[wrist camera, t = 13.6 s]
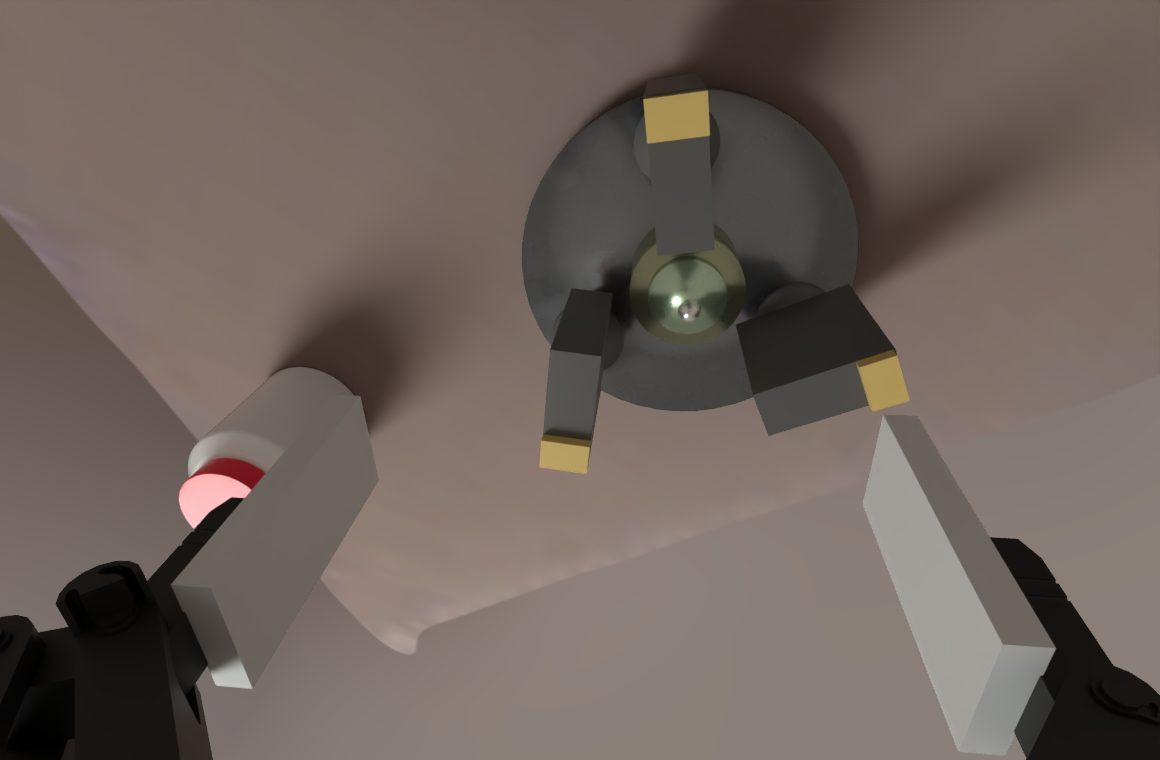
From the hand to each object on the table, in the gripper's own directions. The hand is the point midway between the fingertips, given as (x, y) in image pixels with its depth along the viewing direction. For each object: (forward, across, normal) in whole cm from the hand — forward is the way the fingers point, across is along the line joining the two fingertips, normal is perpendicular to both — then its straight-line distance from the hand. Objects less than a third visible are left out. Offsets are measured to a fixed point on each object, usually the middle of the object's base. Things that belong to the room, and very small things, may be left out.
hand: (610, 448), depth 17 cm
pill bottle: (+24, -23, -15) cm, 37 cm away
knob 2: (+23, +2, +4) cm, 23 cm away
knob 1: (+23, -3, -8) cm, 24 cm away
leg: (+23, +9, -6) cm, 25 cm away
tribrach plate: (+25, +2, -4) cm, 25 cm away
